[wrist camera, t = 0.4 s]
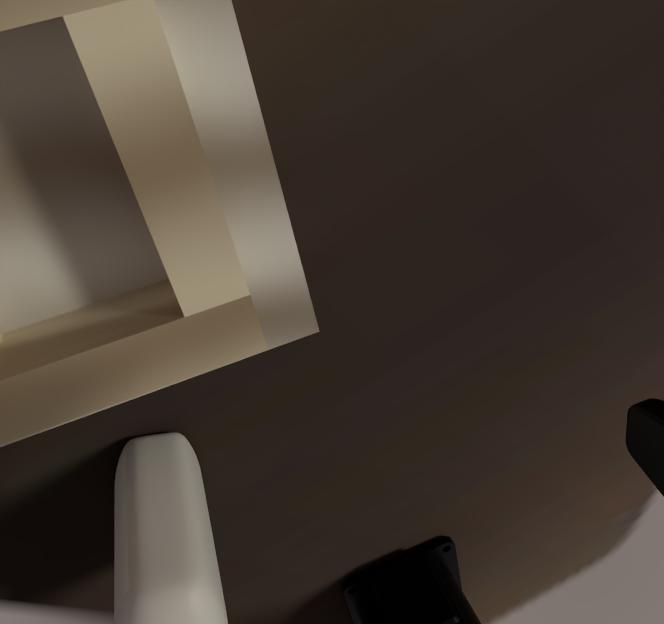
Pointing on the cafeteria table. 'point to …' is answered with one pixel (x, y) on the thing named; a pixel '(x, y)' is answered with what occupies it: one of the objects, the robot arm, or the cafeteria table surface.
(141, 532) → the eye dropper bottle
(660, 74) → the cafeteria table surface
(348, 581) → the robot arm
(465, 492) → the cafeteria table surface
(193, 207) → the collar block
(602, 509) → the cafeteria table surface
